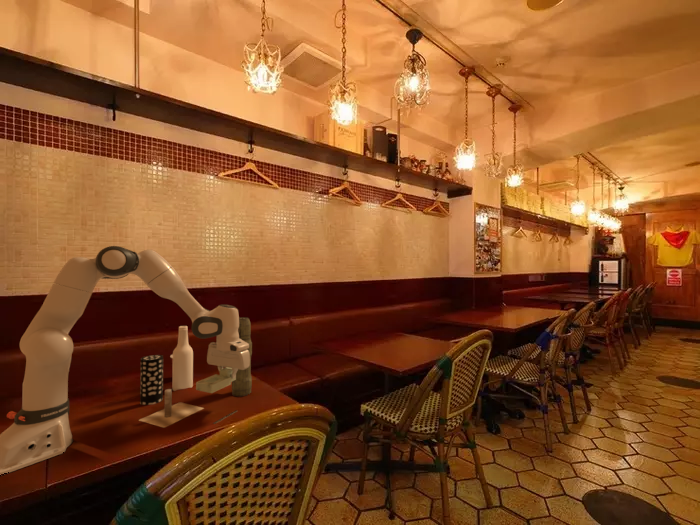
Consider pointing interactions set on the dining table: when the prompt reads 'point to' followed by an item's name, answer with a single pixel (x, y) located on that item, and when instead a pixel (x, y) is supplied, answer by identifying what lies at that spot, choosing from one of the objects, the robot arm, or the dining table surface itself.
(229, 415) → the mat
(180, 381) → the alcohol
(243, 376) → the stone moai statue
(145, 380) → the white-spotted black cylinder
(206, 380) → the link
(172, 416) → the post stand
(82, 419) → the dining table surface
